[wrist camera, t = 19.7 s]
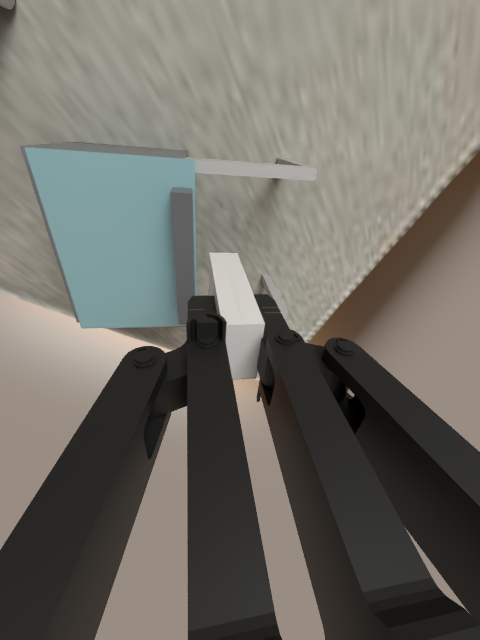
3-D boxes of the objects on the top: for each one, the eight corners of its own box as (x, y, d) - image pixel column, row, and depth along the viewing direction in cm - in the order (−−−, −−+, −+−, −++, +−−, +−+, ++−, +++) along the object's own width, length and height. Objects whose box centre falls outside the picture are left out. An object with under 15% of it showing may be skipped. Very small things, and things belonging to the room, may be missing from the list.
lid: (84, 323, 29) (73, 342, 26) (29, 147, 20) (4, 149, 17) (197, 322, 31) (197, 339, 28) (194, 159, 22) (194, 162, 19)
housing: (104, 279, 38) (77, 322, 29) (72, 142, 29) (19, 145, 20) (267, 280, 41) (286, 319, 33) (285, 158, 32) (317, 168, 24)
